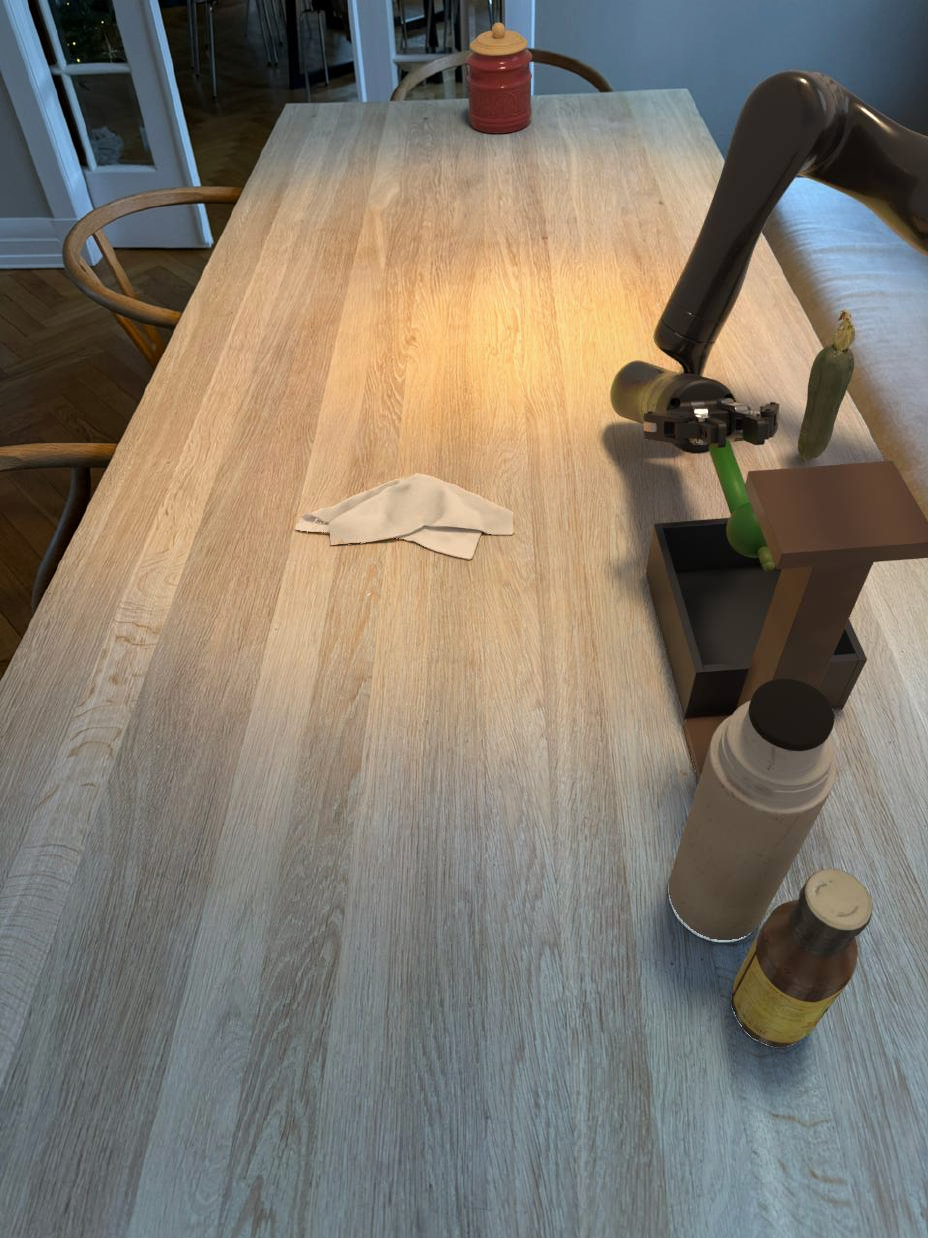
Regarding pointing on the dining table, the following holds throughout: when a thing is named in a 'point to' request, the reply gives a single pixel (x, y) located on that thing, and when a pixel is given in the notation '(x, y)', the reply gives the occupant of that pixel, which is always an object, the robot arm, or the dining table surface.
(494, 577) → the dining table surface
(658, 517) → the dining table surface
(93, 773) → the dining table surface
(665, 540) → the open box
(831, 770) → the thermos bottle
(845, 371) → the vegetable
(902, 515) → the shelf stand
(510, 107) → the kitchen canister
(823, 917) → the sauce bottle
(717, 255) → the robot arm
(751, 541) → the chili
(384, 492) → the cloth
